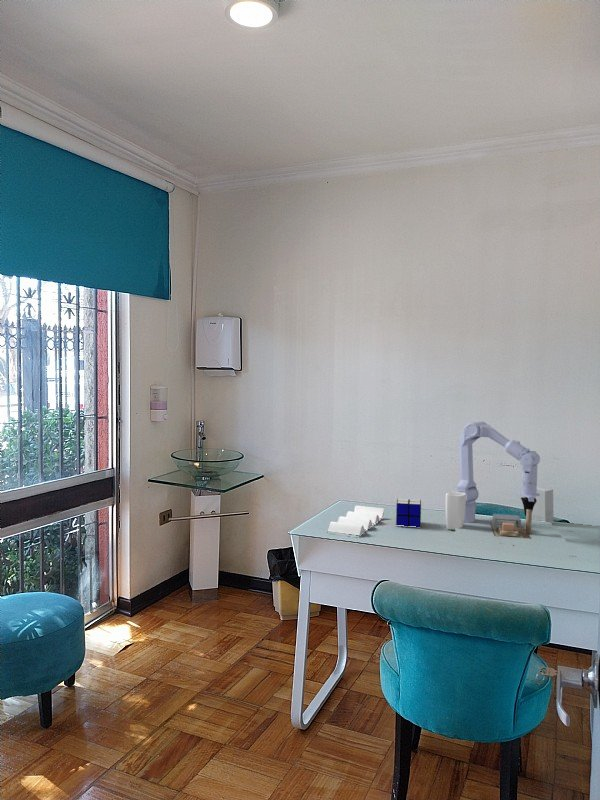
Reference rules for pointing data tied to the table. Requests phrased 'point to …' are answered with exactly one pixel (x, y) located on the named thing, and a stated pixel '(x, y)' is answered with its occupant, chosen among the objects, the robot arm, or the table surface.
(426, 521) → the table surface
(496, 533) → the deck
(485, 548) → the table surface
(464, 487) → the robot arm
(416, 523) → the puzzle cube
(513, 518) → the tunnel
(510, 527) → the block
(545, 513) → the skincare box
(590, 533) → the table surface
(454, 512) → the cup
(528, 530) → the slider
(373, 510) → the white ridged rack
